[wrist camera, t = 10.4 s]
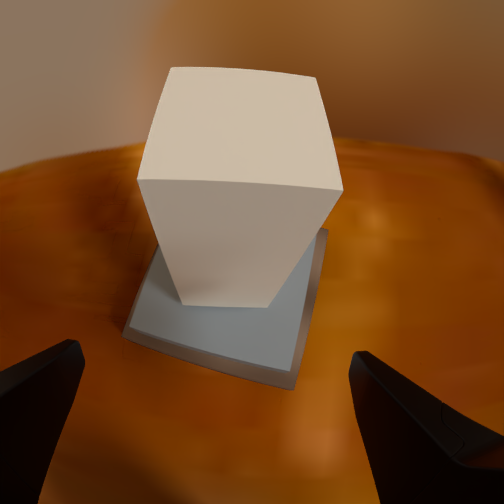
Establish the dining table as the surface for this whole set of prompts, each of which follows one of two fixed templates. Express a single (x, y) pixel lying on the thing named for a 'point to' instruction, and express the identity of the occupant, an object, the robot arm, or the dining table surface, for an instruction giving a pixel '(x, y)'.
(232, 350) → the slate top slab
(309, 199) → the ivory pillar block
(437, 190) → the dining table surface
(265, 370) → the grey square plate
